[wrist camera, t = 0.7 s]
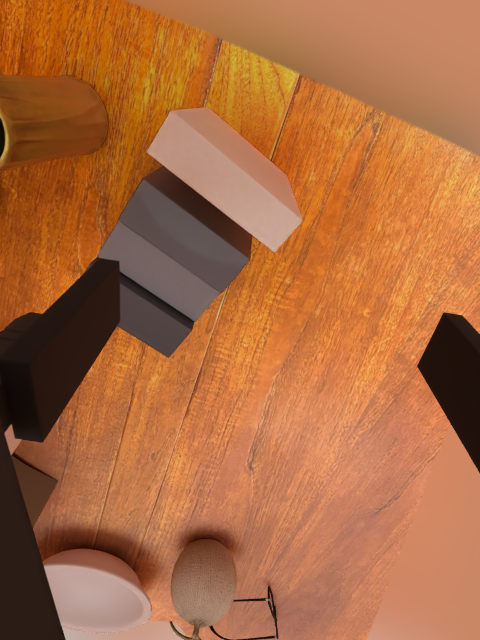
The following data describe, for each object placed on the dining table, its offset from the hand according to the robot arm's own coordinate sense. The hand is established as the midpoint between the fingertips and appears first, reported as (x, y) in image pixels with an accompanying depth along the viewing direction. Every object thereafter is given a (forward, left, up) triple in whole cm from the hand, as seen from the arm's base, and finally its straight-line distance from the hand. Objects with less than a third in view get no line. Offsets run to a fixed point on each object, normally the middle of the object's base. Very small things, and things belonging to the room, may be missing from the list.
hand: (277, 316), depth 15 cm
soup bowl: (+71, +18, -23) cm, 77 cm away
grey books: (+8, -4, -23) cm, 25 cm away
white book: (-1, -4, -23) cm, 23 cm away
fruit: (+52, +30, -23) cm, 65 cm away
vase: (+5, -18, -23) cm, 30 cm away
